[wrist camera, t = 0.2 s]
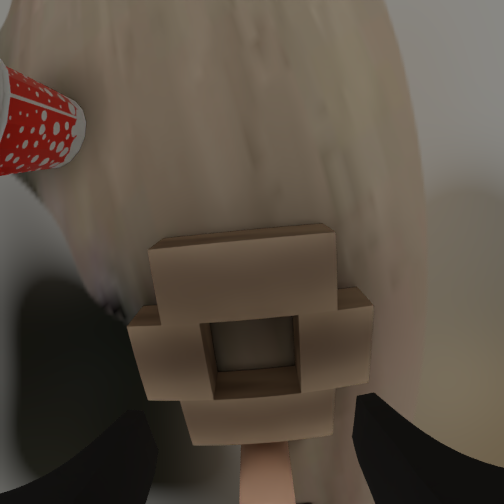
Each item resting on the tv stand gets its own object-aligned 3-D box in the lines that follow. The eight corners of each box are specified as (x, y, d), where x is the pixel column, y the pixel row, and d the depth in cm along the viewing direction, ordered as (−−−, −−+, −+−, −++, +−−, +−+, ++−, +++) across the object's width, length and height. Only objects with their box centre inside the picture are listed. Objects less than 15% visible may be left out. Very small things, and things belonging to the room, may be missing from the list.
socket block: (350, 402, 21) (362, 429, 18) (172, 417, 21) (164, 444, 18) (355, 220, 18) (374, 228, 15) (131, 241, 18) (111, 253, 15)
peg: (287, 452, 22) (296, 522, 15) (243, 456, 22) (242, 526, 15) (286, 423, 21) (296, 497, 14) (238, 427, 21) (235, 501, 14)
